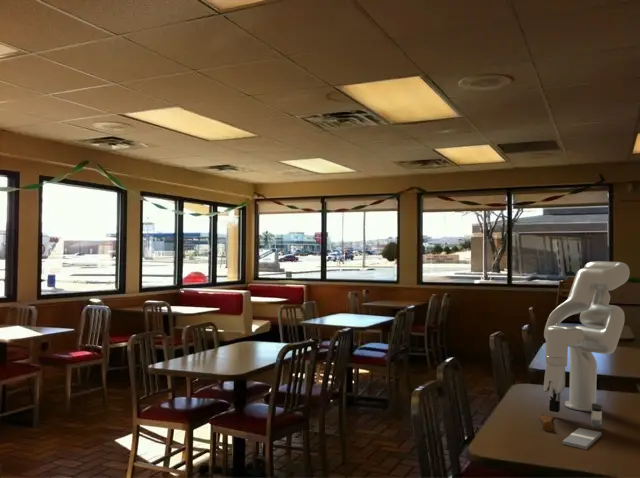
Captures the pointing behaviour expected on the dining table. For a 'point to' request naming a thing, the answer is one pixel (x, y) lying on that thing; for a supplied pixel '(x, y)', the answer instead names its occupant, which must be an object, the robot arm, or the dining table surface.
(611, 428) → the dining table surface
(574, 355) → the robot arm
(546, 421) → the primitive tool
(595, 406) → the steel peg
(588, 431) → the panel
